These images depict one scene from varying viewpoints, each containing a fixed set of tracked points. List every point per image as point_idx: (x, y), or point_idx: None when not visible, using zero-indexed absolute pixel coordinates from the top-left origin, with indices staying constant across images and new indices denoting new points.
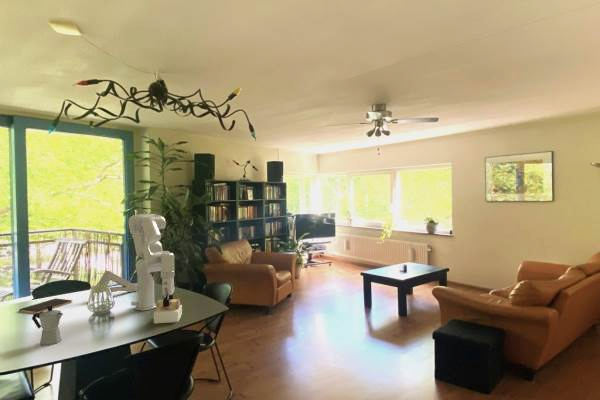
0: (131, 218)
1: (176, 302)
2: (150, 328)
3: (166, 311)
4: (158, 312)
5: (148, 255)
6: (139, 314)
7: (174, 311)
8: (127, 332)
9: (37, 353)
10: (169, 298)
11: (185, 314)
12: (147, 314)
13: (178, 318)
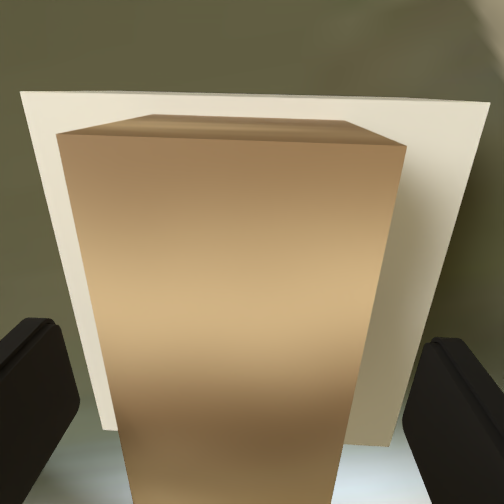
0: None
1: (382, 197)
2: (486, 352)
3: (396, 312)
4: (398, 402)
5: None
6: (97, 466)
7: (458, 177)
8: None
9: None
10: (30, 426)
11: (101, 34)
12: (98, 423)
13: (380, 97)
